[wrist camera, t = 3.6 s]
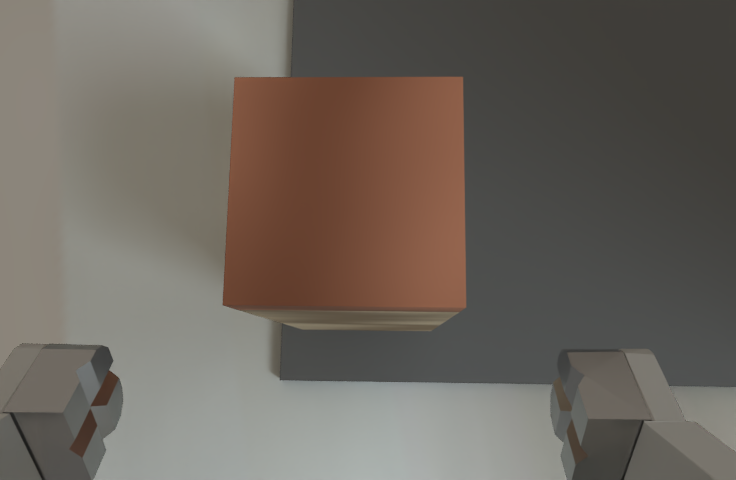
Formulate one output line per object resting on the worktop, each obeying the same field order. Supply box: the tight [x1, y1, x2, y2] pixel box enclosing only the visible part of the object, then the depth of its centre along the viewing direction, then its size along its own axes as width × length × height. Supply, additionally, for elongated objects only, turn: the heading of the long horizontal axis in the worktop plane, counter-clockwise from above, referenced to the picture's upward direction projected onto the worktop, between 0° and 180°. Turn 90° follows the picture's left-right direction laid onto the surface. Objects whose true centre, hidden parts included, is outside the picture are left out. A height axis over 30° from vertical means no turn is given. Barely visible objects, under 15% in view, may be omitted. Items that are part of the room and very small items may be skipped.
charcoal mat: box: [280, 0, 736, 387], centre depth 24 cm, size 22×22×1 cm
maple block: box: [223, 77, 466, 331], centre depth 18 cm, size 4×4×11 cm
